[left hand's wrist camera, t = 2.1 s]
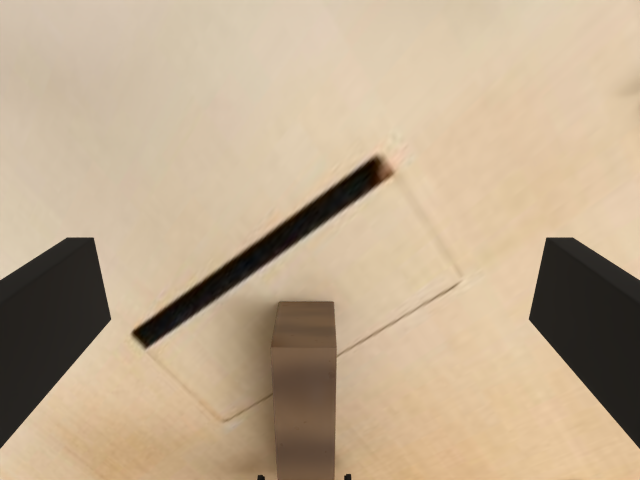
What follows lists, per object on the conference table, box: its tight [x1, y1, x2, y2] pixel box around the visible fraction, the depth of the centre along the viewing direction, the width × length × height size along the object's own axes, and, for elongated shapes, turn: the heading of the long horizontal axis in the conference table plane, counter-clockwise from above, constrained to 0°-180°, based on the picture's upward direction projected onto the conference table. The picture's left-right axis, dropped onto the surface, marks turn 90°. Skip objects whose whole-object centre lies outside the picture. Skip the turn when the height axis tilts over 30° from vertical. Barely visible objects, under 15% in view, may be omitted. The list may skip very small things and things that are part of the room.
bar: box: [271, 302, 337, 480], centre depth 44 cm, size 24×6×8 cm, turn 0°
